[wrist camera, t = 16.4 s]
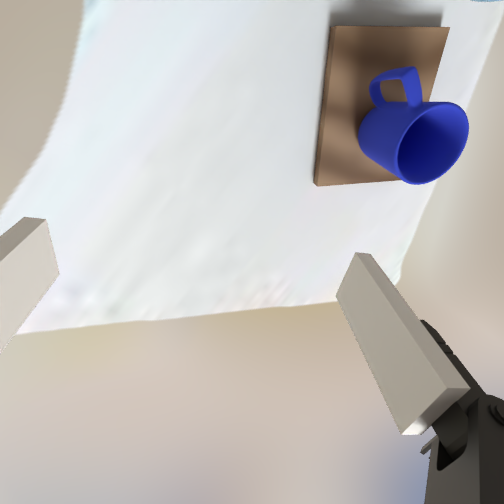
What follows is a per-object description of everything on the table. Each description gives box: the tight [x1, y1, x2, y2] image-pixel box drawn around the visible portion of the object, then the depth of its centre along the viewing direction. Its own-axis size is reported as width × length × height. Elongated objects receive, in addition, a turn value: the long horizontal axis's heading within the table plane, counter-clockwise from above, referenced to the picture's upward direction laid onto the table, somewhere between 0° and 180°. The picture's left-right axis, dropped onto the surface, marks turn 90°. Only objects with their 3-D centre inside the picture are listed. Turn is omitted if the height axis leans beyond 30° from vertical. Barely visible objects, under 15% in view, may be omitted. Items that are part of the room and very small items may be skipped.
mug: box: [358, 66, 469, 185], centre depth 33 cm, size 8×12×10 cm
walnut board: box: [314, 26, 450, 186], centre depth 37 cm, size 18×14×2 cm
